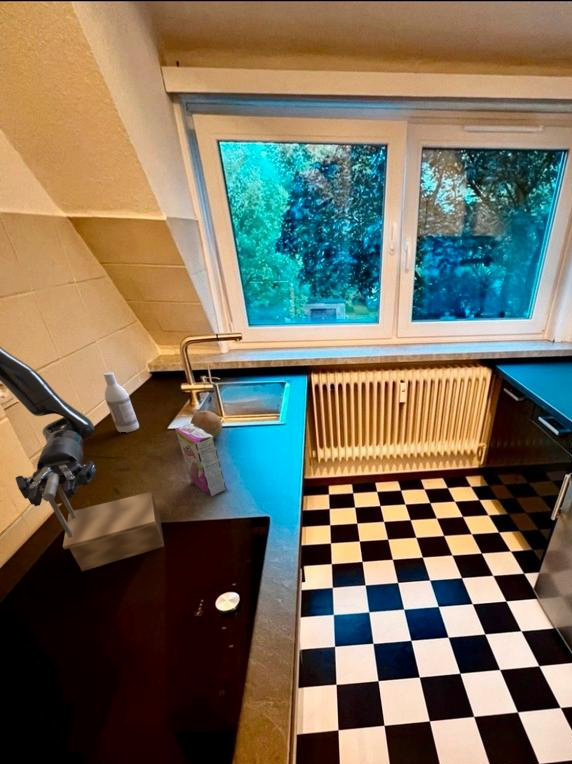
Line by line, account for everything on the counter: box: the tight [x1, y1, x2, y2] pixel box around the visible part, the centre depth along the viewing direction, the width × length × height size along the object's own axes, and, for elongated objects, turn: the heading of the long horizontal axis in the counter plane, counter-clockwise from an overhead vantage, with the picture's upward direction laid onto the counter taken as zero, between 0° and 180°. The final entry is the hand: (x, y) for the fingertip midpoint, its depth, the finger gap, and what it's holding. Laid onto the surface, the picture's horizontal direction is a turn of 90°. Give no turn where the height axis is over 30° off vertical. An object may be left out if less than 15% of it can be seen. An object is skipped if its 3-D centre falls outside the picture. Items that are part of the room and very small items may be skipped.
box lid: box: [42, 473, 156, 550], centre depth 80 cm, size 16×13×12 cm
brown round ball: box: [190, 410, 223, 440], centre depth 127 cm, size 10×10×10 cm
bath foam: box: [103, 371, 140, 434], centre depth 131 cm, size 7×7×20 cm
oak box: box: [68, 495, 165, 572], centre depth 85 cm, size 16×13×6 cm
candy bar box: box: [174, 423, 227, 498], centre depth 101 cm, size 11×5×16 cm, turn 47°
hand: (51, 497), depth 73 cm, fingers open, 4 cm apart
